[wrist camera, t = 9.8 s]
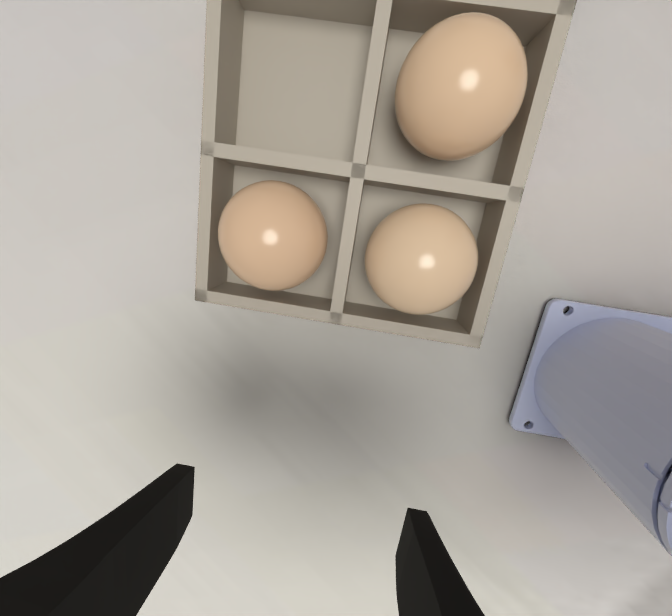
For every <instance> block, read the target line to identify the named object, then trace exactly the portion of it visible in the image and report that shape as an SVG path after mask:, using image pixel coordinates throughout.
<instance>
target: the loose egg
mask: <svg viewBox="0 0 672 616" xmlns="http://www.w3.org/2000/svg"><path fill="white" fill-rule="evenodd" d="M527 77H528V72H527V60H526V55H525V51H524V48H523V46H522V43H521V41H520V39H519V38H518V36H517V35H516V33H515V32H514V31H513V30H512V28H511V27H510V26H509V25H507V24H506V23H505V22H504V21H502V20H500V19H499V18H497V17H495V16H492V15H490V14H485V13H478V12H469V13H461V14H457V15H453V16H451V17H448V18H446V19H444V20H442V21H440V22H439V23H437V24H435V25H434V26H432V27H431V28H430V29H428V30H427V31H426V32H425V33H424V34H423V35H422V36H421V37H420V38H419V39H418V40H417V42H416V43H415V44H414V45H413V47H412V48H411V50H410V51H409V53H408V54H407V56H406V58H405V60H404V62H403V64H402V66H401V69H400V72H399V75H398V78H397V83H396V89H395V112H396V116H397V120H398V124H399V126H400V129H401V131H402V133H403V135H404V136H405V138H406V139H407V141H408V142H409V143H410V144H411V145H412V146H413V147H414V148H415V149H416V150H418V151H419V152H420V153H422V154H424V155H426V156H428V157H431V158H433V159H438V160H445V161H454V160H461V159H465V158H468V157H471V156H474V155H476V154H478V153H480V152H482V151H484V150H485V149H487V148H488V147H490V146H491V145H492V144H493V143H495V142H496V141H497V140H498V139H499V138H500V137H501V136H502V135H503V134H504V133H505V132H506V130H507V129H508V128H509V126H510V125H511V124H512V122H513V121H514V119H515V117H516V116H517V114H518V112H519V109H520V107H521V105H522V102H523V99H524V96H525V92H526V87H527Z"/></svg>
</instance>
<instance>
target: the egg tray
mask: <svg viewBox="0 0 672 616" xmlns="http://www.w3.org/2000/svg"><path fill="white" fill-rule="evenodd" d="M576 2H577V0H207V8H206V33H205V58H204V83H203V108H202V133H201V158H200V183H199V208H198V233H197V258H196V283H195V300H196V301H202V302H208V303H214V304H220V305H226V306H232V307H238V308H244V309H249V310H255V311H261V312H267V313H273V314H279V315H285V316H291V317H297V318H303V319H309V320H314V321H320V322H326V323H332V324H338V325H344V326H350V327H356V328H362V329H368V330H374V331H379V332H385V333H391V334H397V335H403V336H409V337H415V338H421V339H427V340H433V341H439V342H445V343H450V344H456V345H462V346H468V347H474V348H480V344H481V341H482V337H483V334H484V330H485V327H486V323H487V319H488V316H489V312H490V309H491V305H492V302H493V298H494V294H495V291H496V287H497V284H498V280H499V277H500V273H501V269H502V266H503V262H504V259H505V255H506V252H507V248H508V244H509V241H510V237H511V234H512V230H513V227H514V223H515V219H516V216H517V212H518V209H519V205H520V202H521V198H522V194H523V191H524V187H525V184H526V180H527V177H528V173H529V169H530V166H531V162H532V159H533V155H534V152H535V148H536V144H537V141H538V137H539V134H540V130H541V127H542V123H543V119H544V116H545V112H546V109H547V105H548V102H549V98H550V94H551V91H552V87H553V84H554V80H555V77H556V73H557V69H558V66H559V62H560V59H561V55H562V52H563V48H564V44H565V41H566V37H567V34H568V30H569V27H570V23H571V19H572V16H573V12H574V9H575V5H576ZM469 12H478V13H485V14H490V15H492V16H495V17H497V18H499V19H500V20H502V21H504V22H505V23H506V24H507V25H509V26H510V27H511V28H512V30H513V31H514V32H515V33H516V35H517V36H518V38H519V39H520V41H521V43H522V46H523V48H524V51H525V55H526V60H527V72H528V77H527V87H526V92H525V96H524V99H523V102H522V105H521V107H520V109H519V112H518V114H517V116H516V117H515V119H514V121H513V122H512V124H511V125H510V126H509V128H508V129H507V130H506V132H505V133H504V134H503V135H502V136H501V137H500V138H499V139H498V140H497V141H496V142H495V143H493V144H492V145H491V146H490V147H488V148H487V149H485V150H484V151H482V152H480V153H478V154H476V155H474V156H471V157H468V158H465V159H461V160H454V161H445V160H438V159H433V158H431V157H428V156H426V155H424V154H422V153H420V152H419V151H418V150H416V149H415V148H414V147H413V146H412V145H411V144H410V143H409V142H408V141H407V139H406V138H405V136H404V135H403V133H402V131H401V129H400V126H399V124H398V120H397V116H396V112H395V89H396V83H397V78H398V75H399V72H400V69H401V66H402V64H403V62H404V60H405V58H406V56H407V54H408V53H409V51H410V50H411V48H412V47H413V45H414V44H415V43H416V42H417V40H418V39H419V38H420V37H421V36H422V35H423V34H424V33H425V32H426V31H427V30H428V29H430V28H431V27H432V26H434V25H435V24H437V23H439V22H440V21H442V20H444V19H446V18H448V17H451V16H453V15H457V14H461V13H469ZM266 180H275V181H282V182H286V183H289V184H292V185H294V186H296V187H298V188H300V189H301V190H303V191H304V192H306V193H307V194H308V195H309V196H310V197H311V198H312V199H313V200H314V201H315V202H316V204H317V205H318V207H319V208H320V210H321V212H322V214H323V216H324V219H325V222H326V226H327V232H328V242H327V249H326V253H325V256H324V259H323V261H322V263H321V265H320V266H319V268H318V269H317V271H316V272H315V273H314V274H313V275H312V276H311V277H310V278H309V279H308V280H306V281H305V282H303V283H302V284H300V285H298V286H296V287H293V288H290V289H286V290H279V291H270V290H263V289H259V288H256V287H254V286H251V285H250V284H248V283H246V282H244V281H243V280H241V279H240V278H239V277H238V276H236V275H235V274H234V273H233V271H232V270H231V269H230V268H229V266H228V265H227V264H226V262H225V260H224V258H223V256H222V253H221V251H220V247H219V242H218V225H219V220H220V216H221V214H222V211H223V209H224V208H225V206H226V204H227V203H228V201H229V200H230V199H231V198H232V197H233V196H234V195H235V194H236V193H237V192H238V191H239V190H241V189H242V188H244V187H246V186H248V185H250V184H253V183H256V182H259V181H266ZM421 203H426V204H434V205H439V206H442V207H444V208H447V209H449V210H451V211H453V212H454V213H456V214H457V215H458V216H460V217H461V218H462V219H463V220H464V221H465V223H466V224H467V225H468V227H469V228H470V230H471V231H472V233H473V235H474V238H475V240H476V244H477V248H478V265H477V271H476V274H475V277H474V279H473V281H472V283H471V285H470V287H469V288H468V290H467V291H466V293H465V294H464V295H463V296H462V297H461V298H460V299H459V300H458V301H457V302H455V303H454V304H453V305H451V306H449V307H447V308H446V309H443V310H441V311H439V312H435V313H431V314H425V315H414V314H408V313H403V312H401V311H398V310H396V309H394V308H392V307H390V306H389V305H387V304H386V303H384V302H383V301H382V300H381V299H380V298H379V297H378V296H377V295H376V293H375V292H374V290H373V289H372V287H371V285H370V283H369V281H368V278H367V275H366V270H365V251H366V247H367V243H368V241H369V238H370V236H371V234H372V232H373V231H374V229H375V228H376V227H377V225H378V224H379V223H380V222H381V221H382V220H383V219H384V218H385V217H386V216H388V215H389V214H390V213H392V212H394V211H395V210H397V209H399V208H402V207H405V206H408V205H412V204H421Z"/></svg>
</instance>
